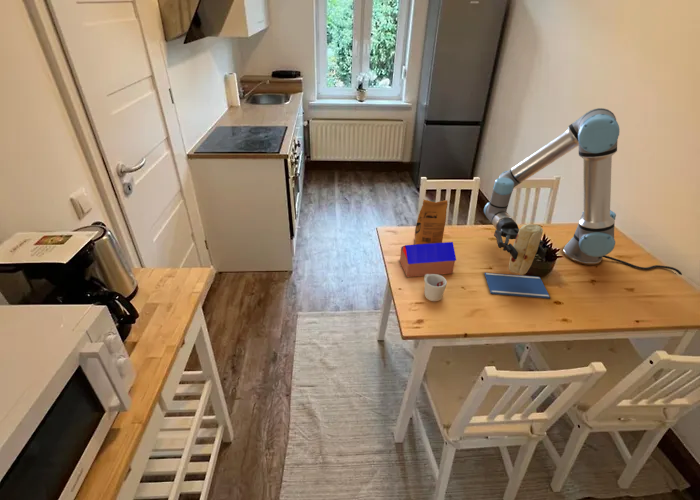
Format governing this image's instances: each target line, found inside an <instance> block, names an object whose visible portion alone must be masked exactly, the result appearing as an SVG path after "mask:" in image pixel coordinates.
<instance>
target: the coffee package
mask: <svg viewBox="0 0 700 500" xmlns="http://www.w3.org/2000/svg"><path fill="white" fill-rule="evenodd" d="M448 203H449V202H448V200H447V199H445V200H441V201H431V200H428V199H423V200H422V205H421V207H420V211H419V214H418V217H417V219H416V223H415V229H414V240H415V244H414V245H416V244H430V243H443V240H444V234H445V228H446V223H447V209H448V206H449V205H448Z"/></svg>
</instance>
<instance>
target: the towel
mask: <svg viewBox="0 0 700 500" xmlns="http://www.w3.org/2000/svg"><path fill="white" fill-rule="evenodd" d="M484 277H485V279H486V283H487V286H488V289H489V292H490V294H491V295H499V296H500V295H501V296H514V297H526V298H536V299H537V298H538V299H549V300H550V299H551V296H550V295H549V292H548V290H547V288H546V286H545V285H544V282H543V280H542V279H541V276H534V275H520V274H510V273H509V274H507V273H495V272H484Z"/></svg>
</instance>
